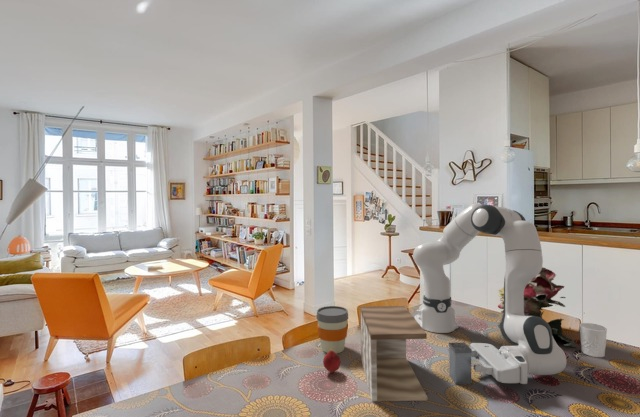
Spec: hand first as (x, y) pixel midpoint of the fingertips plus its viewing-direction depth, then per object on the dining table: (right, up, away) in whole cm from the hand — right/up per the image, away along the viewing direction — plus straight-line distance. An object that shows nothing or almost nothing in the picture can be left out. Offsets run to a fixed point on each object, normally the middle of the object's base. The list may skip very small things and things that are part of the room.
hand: (467, 361), depth 110 cm
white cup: (+54, -5, +17) cm, 56 cm away
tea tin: (-2, -6, 0) cm, 6 cm away
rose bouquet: (+43, -5, +37) cm, 57 cm away
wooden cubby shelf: (-24, -6, +2) cm, 25 cm away
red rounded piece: (-43, -7, +6) cm, 44 cm away
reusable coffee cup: (-42, -6, +25) cm, 50 cm away
